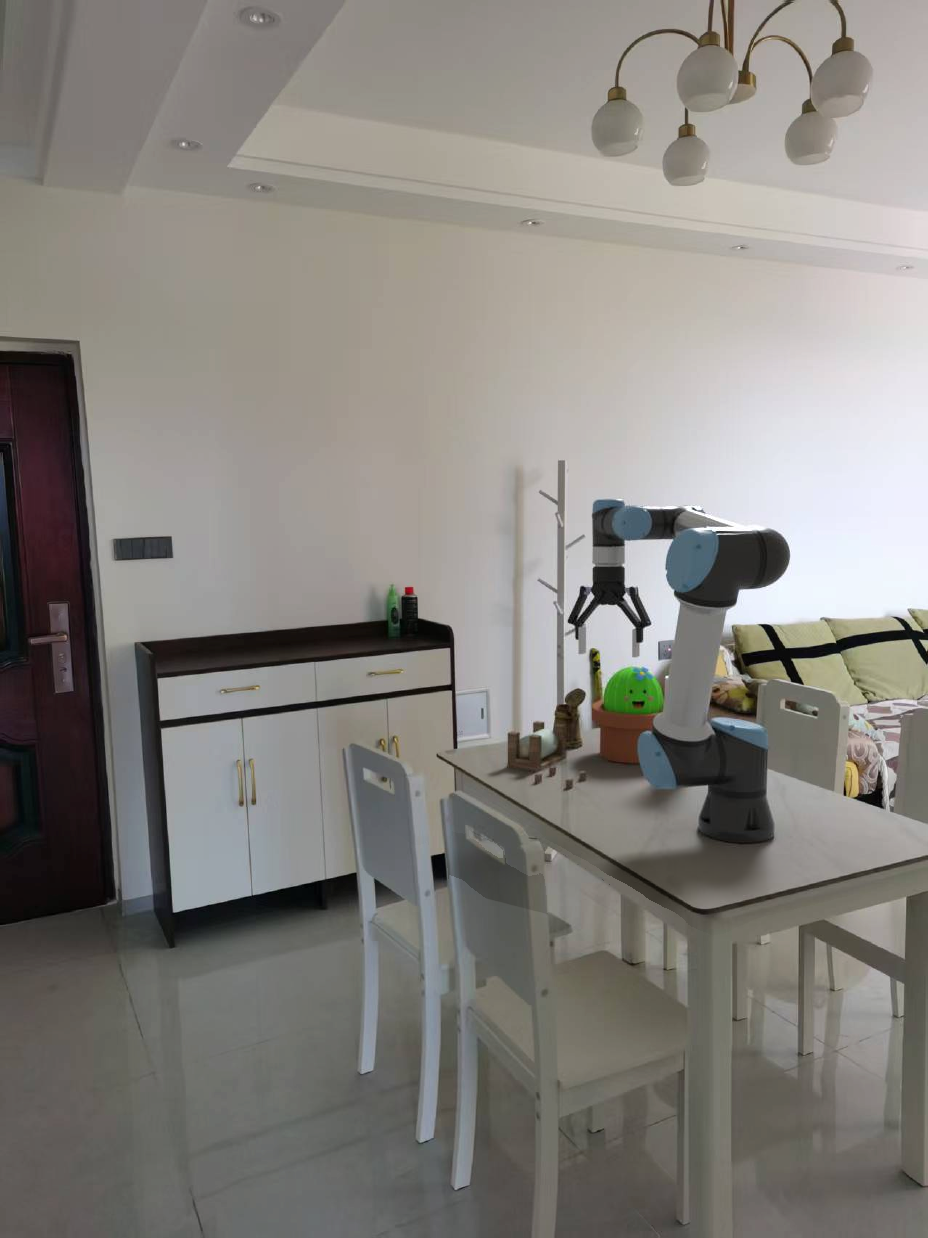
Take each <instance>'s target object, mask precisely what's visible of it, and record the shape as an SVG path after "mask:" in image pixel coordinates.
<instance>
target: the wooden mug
mask: <svg viewBox="0 0 928 1238" xmlns="http://www.w3.org/2000/svg"><path fill="white" fill-rule="evenodd" d="M586 693H587V692H586V691H584V689H581V688H579V687H577V688H575V689H573V690H571V691H569V692H568V693H567V694H566V696H565V697H564V703H559V704H557V705H556V707H555V710H554V712H553V713H554V714H553V715H554V722H553V729H552V731H553V732H554V725H556V724H563V725H566V743H565V749H577V748H580V747H582V746H583V738H582V735H581V734H582V733H581V727H580V717H581V715H580V711H579V709H578V708H579V706H580V705H581V704H583V702H584V701H585V699H586V697H587V696H586V695H587V694H586ZM579 746H580V747H579ZM576 747H577V748H576Z"/></svg>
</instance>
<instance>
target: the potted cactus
mask: <svg viewBox="0 0 928 1238" xmlns="http://www.w3.org/2000/svg"><path fill="white" fill-rule="evenodd" d="M649 670H650V669H648V668H646V667H644V665H643V666H641V667H639V666H633V664H632V665H631V666H630V665H627V667H625V666H623V668H621V669H619V670H617V672H616V673H615V672H614V673H613V674H612V676H611V677H610V678H609V680H608V681H606V683H607V684H606V686H605V687H604V688H603V690H602V691H604V693H603V695H601V697H602V698H601V700H598V701H596V702H593V703H592V705H591V720H592V722H594V723H595V724H598V725H599V726H600V727H599V731H600V732H599V753H600V755H601V757H603V758H604V759H606V760H608V761H610V762H615V763H620V764H629V765H630V764H632V765H633V764H635V765H636V764H637V765H638V764H639V765H640V762H639V757H638V739H639V736H640V735H641V734H642V733H643V732H646V731H651V730H652V726H653V720H654V718H655V716H657V715H658V714H660V713H662V712H663V706H664V697H665V694H664V695H663V690H662V687H661V684H662V683H659V680H657V679H656V677H655V676H656V675H653V673H651V672H650V671H649Z"/></svg>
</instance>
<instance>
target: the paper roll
mask: <svg viewBox="0 0 928 1238" xmlns="http://www.w3.org/2000/svg"><path fill="white" fill-rule="evenodd" d="M533 734H534V735H541V759H542V758H544V757H546V756H548V755H551V754H553V753H554V752H555V751H556V750H557V748H558V739H557V736H556V735H555V733H554V732H553V730H551V729H548V728H544V729H542V730H539V731H537V732H535V733H533V732H532V733H530V734H528V735H525V736H523V737H520V757H523V758H529V736H531V735H533Z"/></svg>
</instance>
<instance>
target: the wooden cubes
mask: <svg viewBox="0 0 928 1238" xmlns="http://www.w3.org/2000/svg"><path fill="white" fill-rule="evenodd" d="M548 774H549V776H555V774H556V775H557V766H554V765H550V766H548ZM542 775H543V773H538V772H537V773H535V774H534V783H536V784H541V783H542V782H543V777H542ZM578 776H579V779H578V780H579V781H586V780H587V771H585V770H580V771H579V775H578ZM540 782H541V783H540ZM573 787H574V779H573V778H569V777H568V778H566V779H565V788H566V789H569V790H570V789H573Z"/></svg>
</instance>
